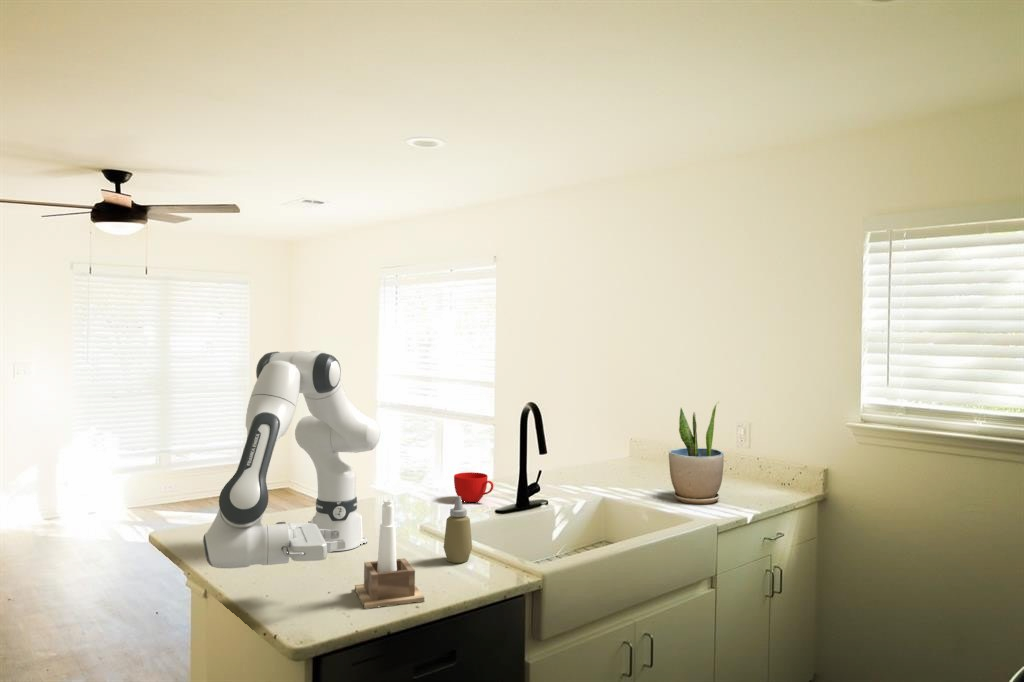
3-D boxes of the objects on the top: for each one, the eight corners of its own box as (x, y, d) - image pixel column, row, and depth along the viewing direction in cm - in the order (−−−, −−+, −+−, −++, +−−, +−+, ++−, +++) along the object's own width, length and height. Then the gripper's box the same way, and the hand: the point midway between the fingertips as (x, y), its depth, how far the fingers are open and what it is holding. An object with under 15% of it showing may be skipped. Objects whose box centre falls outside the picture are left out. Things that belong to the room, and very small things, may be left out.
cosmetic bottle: (368, 591, 174) (370, 500, 174) (387, 585, 178) (388, 496, 178) (385, 597, 170) (387, 504, 170) (404, 590, 175) (405, 500, 175)
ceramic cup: (482, 508, 266) (483, 481, 266) (446, 502, 275) (447, 476, 275) (502, 502, 277) (502, 476, 277) (466, 496, 286) (467, 471, 286)
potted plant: (665, 504, 278) (667, 400, 278) (670, 492, 298) (671, 396, 298) (722, 508, 272) (724, 402, 271) (723, 496, 292) (724, 398, 292)
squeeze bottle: (448, 566, 197) (449, 500, 197) (439, 557, 205) (440, 494, 205) (476, 563, 201) (477, 498, 201) (466, 554, 208) (467, 492, 208)
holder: (354, 589, 178) (355, 560, 178) (410, 582, 183) (410, 555, 183) (364, 609, 165) (365, 578, 165) (424, 601, 170) (424, 572, 170)
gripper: (284, 541, 155) (349, 536, 160) (277, 520, 174) (335, 515, 179) (283, 571, 155) (348, 564, 160) (277, 546, 174) (335, 541, 179)
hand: (341, 538), depth 170 cm, fingers open, 8 cm apart
